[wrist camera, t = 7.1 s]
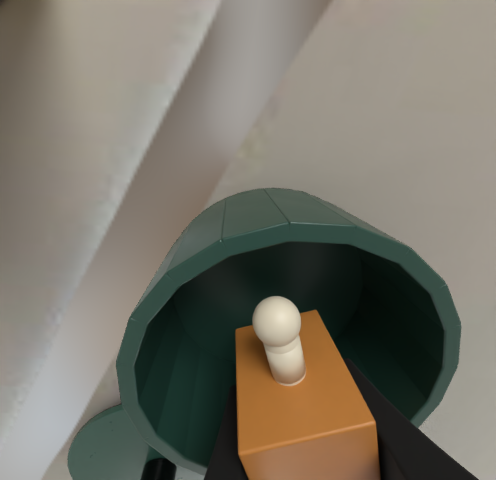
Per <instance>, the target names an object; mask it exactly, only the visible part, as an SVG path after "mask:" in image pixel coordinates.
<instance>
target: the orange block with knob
mask: <svg viewBox="0 0 496 480" xmlns="http://www.w3.org/2000/svg"><path fill="white" fill-rule="evenodd" d="M252 323H253V325H250V326H246V327H242V328H237V329H236V330H235V343H236V390H237V436H238V455H239V457H240V460H241V462H242V465H243V467H244V469H245V472H246V474H247V477H248V479H249V480H381V475H380V464H379V453H378V442H377V431H376V421H375V420H374V418H373V416H372V414H371V412H370V410H369V408H368V406H367V404H366V402H365V401H364V399H363V397H362V395H361V393H360V391H359V389H358V387H357V385H356V384H355V382H354V380H353V378H352V376H351V374H350V372H349V370H348V368H347V366H346V365H345V363H344V361H343V359H342V357H341V355H340V353H339V351H338V349H337V347H336V346H335V344H334V342H333V340H332V338H331V336H330V334H329V332H328V330H327V329H326V327H325V325H324V323H323V321H322V319H321V317H320V315H319V313H318V311H317V310H312V311H307V312H303V313H299V311H298V309H297V307H296V306H295V305H294V304H293V303H292V302H291V301H290V300H288V299H286V298H284V297H281V296H272V297H268V298H266V299H264V300H262V301H261V302H260V303H259V304H258V305H257V307H256V308H255V310H254V313H253V318H252Z"/></svg>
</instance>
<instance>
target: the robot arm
mask: <svg viewBox="0 0 496 480" xmlns="http://www.w3.org/2000/svg"><path fill="white" fill-rule="evenodd" d="M343 361H344V363H345V365H346V366H347V368H348V370H349V372H350V374H351V376H352V378H353V380H354V382H355V384H356V385H357V387H358V389H359V391H360V393H361V395H362V397H363V399H364V401H365V402H366V404H367V406H368V408H369V410H370V412H371V414H372V416H373V418H374V420H375V421H376V431H377V442H378V453H379V464H380V475H381V480H479V479H477V478H476V477H475V476H474V475H472V474H471V473H470V472H469V471H467V470H466V469H465V468H464V467H462V466H461V465H460V464H459V463H457V462H456V461H455V460H454V459H453V458H451V457H450V456H449V455H448V454H447V453H445V452H444V451H443V450H442V449H441V448H439V447H438V446H437V445H436V444H435V443H434V442H433V441H431V440H430V439H429V438H428V437H427V436H426V435H425V434H423V433H422V432H421V431H420V430H419V429H418V428H417V427H416V426H415V425H413V424H412V423H411V422H410V421H409V420H408V419H407V418H406V417H405V416H404V415H403V414H402V413H401V412H400V411H399V410H398V409H397V408H396V407H395V406H393V405H392V404H391V403H390V402H389V401H388V400H387V399H386V398H385V397H384V396H383V395H382V394H381V393H380V392H379V391H378V390H377V389H376V387H375V386H374V385H373V384H372V383H371V382H370V381H369V380H368V379H367V378H366V377H365V376H364V375H363V373H362V372H361V371H360V370H359V369H358V368H357V367H356V365H355V364H354V363H353V362H352V361H351V360H350V359H349V358H346V359H343ZM204 480H249V479H248V477H247V474H246V472H245V469H244V467H243V465H242V462H241V460H240V457H239V455H238V436H237V390H236V385H232V386H231V387H230V388H229V392H228V397H227V402H226V406H225V410H224V414H223V418H222V422H221V426H220V429H219V433H218V436H217V440H216V443H215V446H214V450H213V453H212V456H211V459H210V462H209V465H208V468H207V471H206V474H205V477H204Z"/></svg>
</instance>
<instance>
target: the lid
mask: <svg viewBox="0 0 496 480" xmlns="http://www.w3.org/2000/svg"><path fill="white" fill-rule="evenodd" d="M68 468H69V472H70V475H71V477H72V479H73V480H204V476H202V475H199V474H197V473H194V472H192V471H189V470H187V469H185V468H182V467H180V466H177V465H175V463H172V462H171V461H169V460H168V459H167V458H166V457H164V456H163V455H162V454H161V453H159V452H158V451H157V450H156V449H154V448H153V447H152V446H151V445H149V444H148V443H147V442H145V441H144V439H142V438H141V436H140V434H139V433H138V431H137V429H136V428H135V426H134V425H133V423H132V421H131V420H130V418H129V417H128V415H127V413H126V412H125V410H124V408H123V407H122V404H121V405H117V406H115V407H112V408H110V409H107V410H105V411H103V412H101V413H100V414H98V415H96V416H95V417H93V418H92V419H91V420H89V421H88V422H87V423H86V424H85V425H84V426H83V427H82V428H81V429H80V431H79V432H78V433H77V435H76V436H75V438H74V440H73V442H72V444H71V447H70V449H69V453H68Z"/></svg>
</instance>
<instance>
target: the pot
mask: <svg viewBox="0 0 496 480" xmlns="http://www.w3.org/2000/svg"><path fill="white" fill-rule="evenodd" d="M272 296H281V297H284V298H286V299H288V300H290V301H291V302H292V303H293V304H294V305H295V306H296V307H297V309H298V311H299V313H303V312H307V311H312V310H317V311H318V313H319V315H320V317H321V319H322V321H323V323H324V325H325V327H326V329H327V330H328V332H329V334H330V336H331V338H332V340H333V342H334V344H335V346H336V347H337V349H338V351H339V353H340V355H341V357H342V359H346V358H349V359H350V360H351V361H352V362H353V363H354V364H355V365H356V367H357V368H358V369H359V370H360V371H361V372H362V373H363V375H364V376H365V377H366V378H367V379H368V380H369V381H370V382H371V383H372V384H373V385H374V386H375V387H376V389H377V390H378V391H379V392H380V393H381V394H382V395H383V396H384V397H385V398H386V399H387V400H388V401H389V402H390V403H391V404H392V405H393V406H395V407H396V408H397V409H398V410H399V411H400V412H401V413H402V414H403V415H404V416H405V417H406V418H407V419H408V420H409V421H410V422H411V423H412V424H413V425H415V426H416V427H417V428H418V427H419V426H420V425H421V424H422V423H423V422H424V421H425V420H426V419H427V417H428V416H429V415H430V414H431V413H432V412H433V411H434V410H435V408H436V407H437V406H438V405H439V404H440V402H441V401H442V399H443V397H444V394H445V392H446V390H447V388H448V386H449V384H450V382H451V380H452V378H453V375H454V373H455V371H456V369H457V365H458V362H459V349H460V337H461V322H460V319H459V316H458V313H457V311H456V308H455V305H454V303H453V300H452V297H451V294H450V292H449V289H448V286H447V284H446V283H445V281H444V280H443V279H442V278H441V277H440V276H439V275H438V274H437V273H436V272H435V271H434V270H433V269H432V268H431V267H430V266H429V265H428V264H427V263H426V262H425V261H424V260H423V259H422V258H421V257H420V256H419V255H418V254H417V253H416V252H415V251H414V250H413V249H412V248H410V247H409V246H407V245H405V244H404V243H402V242H400V241H398V240H396V239H395V238H393V237H391V236H389V235H387V234H386V233H384V232H382V231H380V230H378V229H377V228H375V227H373V226H371V225H369V224H368V223H366V222H364V221H362V220H360V219H359V218H357V217H355V216H353V215H351V214H350V213H348V212H346V211H344V210H342V209H341V208H339V207H337V206H335V205H333V204H331V203H329V202H326V201H324V200H322V199H320V198H318V197H315V196H312V195H310V194H307V193H305V192H302V191H295V190H291V189H281V188H265V189H256V190H250V191H245V192H241V193H238V194H235V195H232V196H229V197H227V198H225V199H223V200H221V201H219V202H217V203H215V204H213V205H212V206H210V207H209V208H207V209H206V210H204V211H203V212H202V213H201V214H199V215H198V216H197V217H196V218H195V219H193V220H192V222H191V223H190V224H189V225H188V226H187V227H186V229H185V230H184V231H183V232H182V234H181V236H180V237H179V238H178V239H177V240H176V242H175V243H174V244H173V246H172V247H171V249H170V251H169V252H168V254H167V256H166V257H165V259H164V261H163V262H162V264H161V266H160V267H159V269H158V271H157V272H156V274H155V276H154V277H153V279H152V281H151V282H150V284H149V286H148V287H147V289H146V291H145V293H144V294H143V296H142V297H141V299H140V301H139V302H138V304H137V306H136V307H135V309H134V311H133V312H132V314H131V316H130V318H129V320H128V323H127V327H126V330H125V333H124V337H123V340H122V343H121V347H120V350H119V353H118V357H117V360H116V369H117V376H118V383H119V391H120V398H121V404H122V407H123V408H124V410H125V412H126V413H127V415H128V417H129V418H130V420H131V421H132V423H133V425H134V426H135V428H136V429H137V431H138V433H139V434H140V436H141V438H142V439H144V441H145V442H147V443H148V444H149V445H151V446H152V447H153V448H154V449H156V450H157V451H158V452H159V453H161V454H162V455H163V456H164V457H166V458H167V459H168V460H169V461H171V462H172V463H175V465H177V466H180V467H182V468H185V469H187V470H189V471H192V472H194V473H197V474H199V475H202V476H204V477H205V474H206V471H207V468H208V465H209V462H210V459H211V456H212V453H213V450H214V446H215V443H216V440H217V436H218V433H219V429H220V426H221V422H222V418H223V414H224V410H225V406H226V402H227V397H228V392H229V388H230V387H231V386H232V385H236V343H235V330H236V329H237V328H242V327H246V326H250V325H253V323H252V318H253V313H254V310H255V308H256V307H257V305H258V304H259V303H260V302H261V301H262V300H264V299H266V298H268V297H272Z"/></svg>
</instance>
